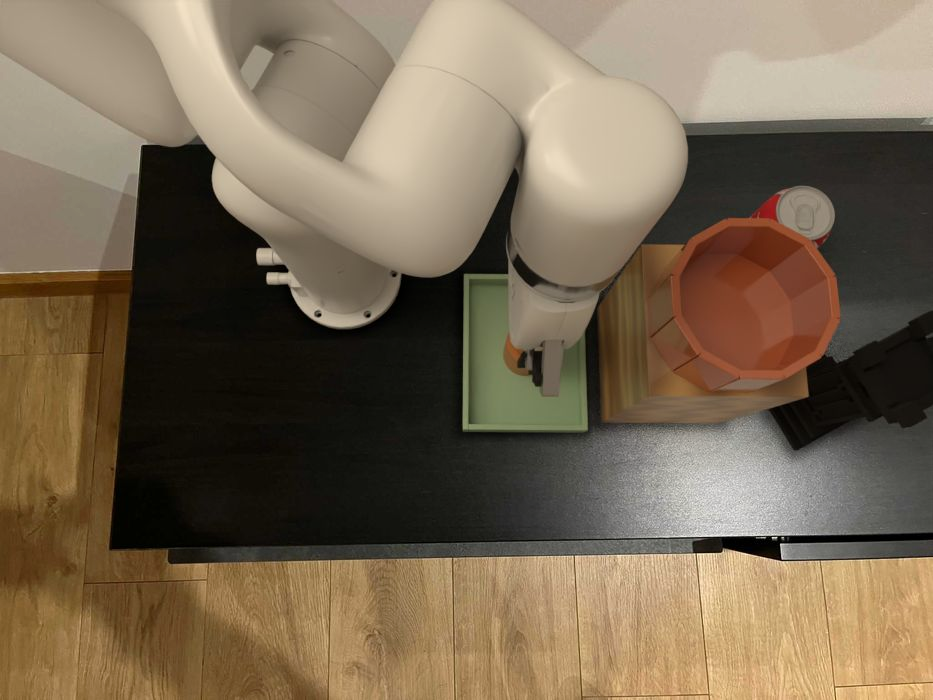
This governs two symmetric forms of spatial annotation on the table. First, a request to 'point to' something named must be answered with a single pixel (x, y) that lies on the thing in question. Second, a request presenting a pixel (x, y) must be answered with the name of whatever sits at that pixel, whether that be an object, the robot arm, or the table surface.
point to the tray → (499, 389)
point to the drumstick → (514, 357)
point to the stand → (662, 360)
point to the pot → (744, 306)
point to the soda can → (801, 212)
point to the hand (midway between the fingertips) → (534, 309)
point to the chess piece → (865, 386)
